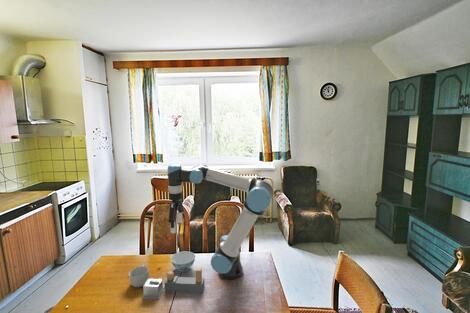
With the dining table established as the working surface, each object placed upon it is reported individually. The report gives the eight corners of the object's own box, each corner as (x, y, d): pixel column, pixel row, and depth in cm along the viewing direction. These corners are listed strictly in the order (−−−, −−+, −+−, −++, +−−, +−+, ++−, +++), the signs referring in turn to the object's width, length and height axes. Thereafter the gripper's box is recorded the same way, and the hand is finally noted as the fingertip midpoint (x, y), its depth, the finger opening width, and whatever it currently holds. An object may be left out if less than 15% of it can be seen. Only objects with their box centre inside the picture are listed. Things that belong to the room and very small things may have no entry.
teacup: (143, 291, 141) (142, 277, 140) (125, 288, 143) (124, 275, 142) (155, 276, 155) (155, 263, 154) (139, 274, 157) (138, 261, 156)
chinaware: (198, 263, 168) (198, 252, 167) (190, 276, 154) (190, 264, 153) (177, 261, 171) (176, 250, 170) (167, 274, 156) (166, 262, 155)
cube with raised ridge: (162, 289, 142) (162, 277, 141) (158, 297, 136) (157, 285, 135) (148, 288, 143) (148, 276, 142) (143, 296, 136) (143, 284, 135)
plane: (204, 286, 145) (203, 266, 143) (202, 292, 140) (201, 272, 138) (168, 284, 147) (167, 265, 145) (164, 291, 141) (163, 270, 139)
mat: (164, 288, 143) (164, 287, 143) (158, 299, 135) (158, 298, 135) (148, 287, 144) (148, 287, 144) (141, 298, 135) (141, 298, 135)
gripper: (175, 186, 157) (176, 219, 160) (161, 198, 133) (163, 237, 136) (187, 186, 157) (188, 219, 160) (175, 198, 132) (176, 237, 135)
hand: (176, 227), depth 148 cm, fingers open, 13 cm apart
